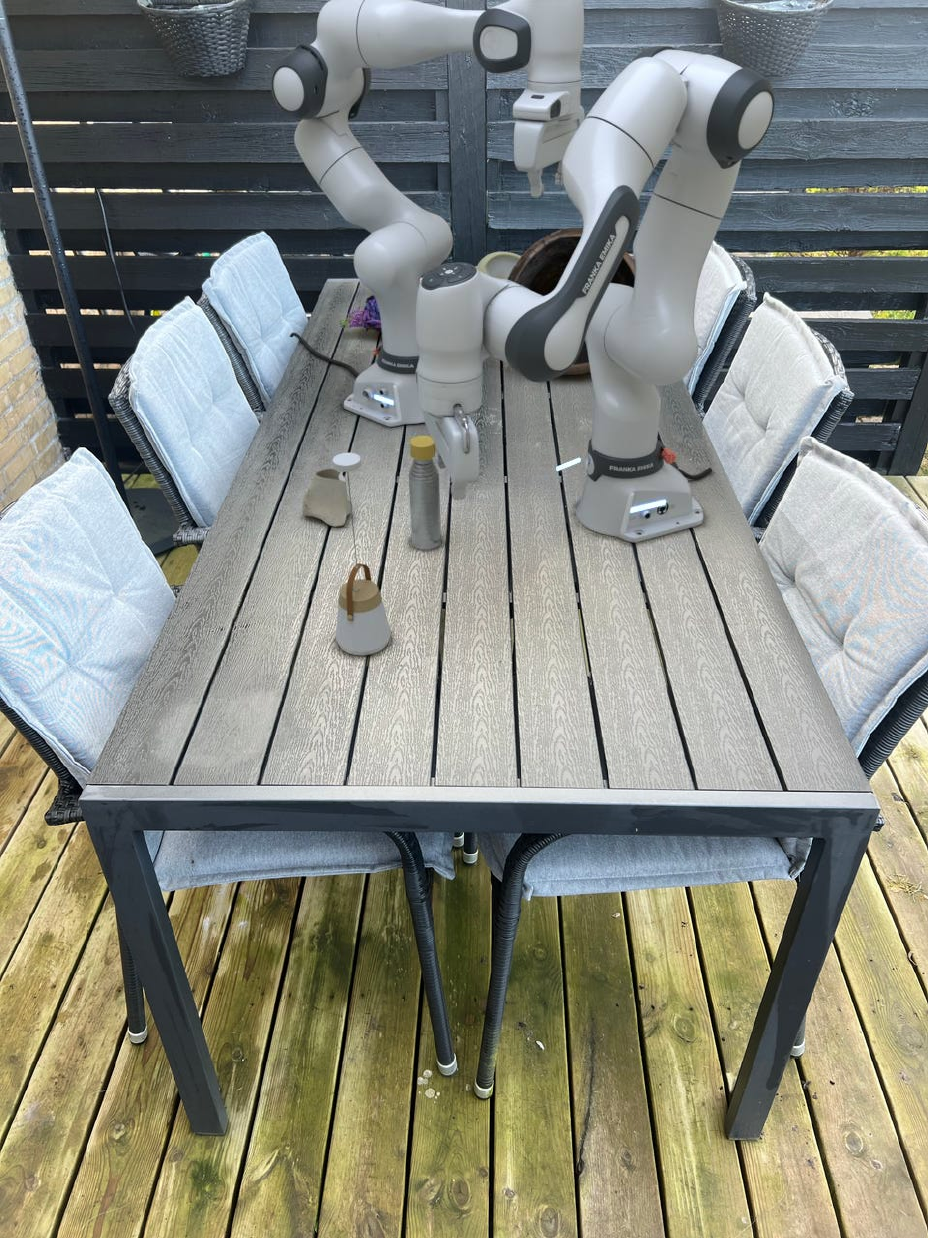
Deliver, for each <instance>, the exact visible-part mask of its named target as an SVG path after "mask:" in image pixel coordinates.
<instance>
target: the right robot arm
mask: <svg viewBox="0 0 928 1238" xmlns="http://www.w3.org/2000/svg"><path fill="white" fill-rule="evenodd" d="M775 105H776V102H775V95H774V89H773V84H772V83H771V82H770V80H769V79H768V78H766V77H765V76H764V75H763V74H762V73H760V72H758V71H756V70H754V69H753V68H751V67H742V66H741V65H738V64H736V63H734V62H731V61H729V60H726V59H724V58H722V57H719V56H716V55H712V54H702V53H698V52H693V51H688V50H681V49H680V50H679V49H676V48H675V47H673V46H668V45H667V46H666V45H657V46H650V47H647V48H645V49H644V50H642V51H641V52H639V53H638V54H637V55H636V56H635V57H634V58H633V59H632V61H631V62H629V64H628V65H627V66H626V67H625V68H624V69H623V70H622V71H621V72H620V73H619V74H618V75H617V76H616V77H615V78H614V80H613V81H612V82H611V83H610V84H609V85H608V86H607V88H606V89H605V90H604V92H603V93H602V94H601V95H600V97H599V98H598V99H597V101H596V102H595V103H594V105H592V108H591V109H590V110H589V112H588V113H587V115H586V116H585V119H584V121H583V122H582V124H581V125H580V127H579V128H578V130H577V131H576V133H575V134H574V136H573V138H572V139H571V141H570V143H569V145H568V147H567V150H566V152H565V155H564V157H563V160H562V179H563V184H564V185H563V187H564V190H565V193H566V195H567V197H568V198H569V200H570V201H571V203H572V204H573V205H574V207H575V208H576V209H577V211H578V213H580V215H581V217H582V223H583V224H582V225H583V227H582V228H583V233H582V236H581V239H580V241H579V243H578V245H577V247H576V249H575V251H574V253H573V255H572V257H571V259H570V261H569V263H568V265H567V267H566V269H565V271H564V273H563V275H562V277H561V279H560V281H559V283H558V285H557V286H556V288H555V289H554V290H553V291H552V292H551V293H550V294H548V295H546V296H542V295H540V294H538V293H535V292H533V291H531V290H529V289H528V288H526V287H524V286H522V285H519V284H517V283H515V282H512V281H510V280H506V279H501V278H494V277H491V276H489V275H487V274H484V273H482V272H481V271H479V270H478V269H477V268H476V266H475V265H473V264H471V263H468V262H459V261H458V262H457V261H456V262H447V263H441V264H440V265H439V266H436V267H434V268H433V269H431V270H430V271H428V272H427V273H426V274H424V275H422V277H421V279H420V285H419V288H418V293H417V301H416V341H417V344H418V347H419V361H418V365H417V369H416V382H417V388H418V405H419V406H420V408H422V409H423V416H424V421H425V422H424V423H425V426H426V429H427V430H428V433H429V435H430V437H432V439H433V441H434V443H435V453H436V454H435V455H436V464H437V466H438V468H439V469H440V470H444V469H446V471H447V473H448V475H449V477H450V479H451V482H452V483H451V484H450V494H451V497H452V499H453V500H454V501H461V500H465V499H466V492H467V490H466V489H467V486H468V484H473V483H477V482H478V481H479V478H480V475H481V471H480V468H481V467H480V443H479V441H480V440H479V434H478V430H477V428H476V425H475V424H474V422H473V420H472V417H473V415H474V412H475V411H477V410H479V409H480V408H481V407H482V405H483V398H484V397H483V396H484V395H483V389H484V388H483V387H484V386H483V385H484V380H483V379H484V361H485V360H486V359H487V358H492V357H494V358H496V359H497V360H500V361H501V362H503V363H505V364H507V365H509V366H510V367H511V368H512V369H513V370H515V371H516V372H517V373H518V374H520V375H521V376H523V377H524V378H525V379H527V380H529V381H530V382H534V383H546V382H550V381H552V380H556V378H559V377H561V376H562V375H563V373H565V372H566V371H567V370H568V369H570V367H571V366H572V365H573V364H574V363H575V361H576V360H577V358H578V356H579V354H580V352H581V349H582V346H583V343H584V340H585V342H586V346H587V352H588V358H589V365H590V372H589V373H590V378H591V387H592V396H593V409H592V424H591V437H590V438H589V440H588V446H587V454H586V459H585V465H586V466H585V469H586V470H585V471H586V478H585V483H584V487H583V491H582V494H581V497H580V500H579V503H578V505H577V507H576V509H575V515H576V518H577V520H578V521H579V522H580V524H582V526H584V527H585V528H587V529H589V530H591V531H593V532H596V533H600V534H602V535H606V536H611V537H615V538H616V537H617V538H619V539H622V540H624V541H626V542H629V543H633V544H635V543H640V542H645V541H647V540H651V539H655V538H659V537H661V536H665V535H669V534H672V533H676V532H679V531H683V530H686V529H691V528H694V527H697V526H701V525H702V524H703V522H704V510H703V508H702V507H701V505H700V504H699V502H698V501H697V500H696V498H695V497H693V492H692V487H691V485H690V483H689V481H688V480H694V481H695V480H700V479H702V478H704V477H706V475H708V474H709V473H712V472H713V468H712V467H708V468H706V469H705V470H703V471H701V472H700V473H698V474H689V473H688V472H686V471H684V470H683V469H681V468H679V465H678V463H677V462H676V459H677V454H676V453H675V452H673V450H672V449H671V448H666V445H665V444H664V443H663V442H662V441H660V440H658V435H659V428H660V420H661V412H662V401H661V396H660V394H659V391H658V389H657V386H658V387H669V386H672V385H675V384H677V383H679V382H680V381H681V380H683V379H684V378H686V376H687V375H689V373H690V372H691V370H692V369H693V367H694V366H695V363H696V361H697V358H698V354H699V340H698V336H697V333H696V328H695V309H696V308H695V307H696V299H697V291H698V287H699V282H700V277H701V274H702V271H703V267H704V265H705V263H706V259H707V257H708V255H709V252H710V250H711V247H712V245H713V242H714V240H715V237H716V235H717V232H718V230H719V228H720V226H721V223H722V221H723V219H724V216H725V215H726V212H727V210H728V207H729V204H730V201H731V198H732V195H733V192H734V189H735V186H736V183H737V179H738V176H739V172H740V168H741V164H742V161H743V159H744V158H746V157H747V156H749V155H750V154H751V153H752V152H753V151H754V150H755V149H756V148H757V147H758V146H759V145H760V143H762V141H763V140H764V138H765V136H766V135H767V133H768V131H769V129H770V126H771V123H772V120H773V117H774V114H775ZM670 144H672V145H673V147H672V151H671V153H670V155H669V156H668V159H667V160H666V162H665V164H664V166H663V168H662V171H661V172H660V174H659V177H658V179H657V181H656V184H655V186H654V189H653V191H652V194H651V196H650V198H649V201H648V203H647V206H646V208H645V212H644V214H643V217H642V219H641V222H640V223H639V221H640V216H641V203H640V198H641V194H642V191H643V189H644V187H645V186H646V185H645V184H646V183H647V181H648V179H649V178H650V176H651V175H652V173H653V172H654V170H655V168H656V167H657V165H658V164H659V162H660V161H661V159H662V157H663V155H664V154H665V152H666V150H667V148H668V147H669V145H670ZM638 224H639V227H638ZM637 227H638V229H637ZM636 230H637V232H636ZM635 232H636V233H635ZM634 235H635V237H634ZM633 237H634V239H633ZM632 239H633V240H632ZM632 241H633V242H632ZM631 242H632V255H633V260H634V262H635V267H636V272H635V283H634V288H632V287H630V286H626V285H621V284H615V283H610V282H611V280H612V278H613V276H614V274H615V272H616V270H617V268H618V266H619V264H620V262H621V260H622V258H623V256H624V254H625V252H626V251H627V250H628V248H629V246H630V244H631ZM578 463H581V458H580V457H578V458H575V459H573V460H570V461H568V462H565V463H563V464H561V465H558V466H556V471H557V472H559V471H562V470H563V469H566V468H568V467H571V466H573V465H576V464H578Z"/></svg>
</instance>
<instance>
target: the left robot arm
mask: <svg viewBox="0 0 928 1238" xmlns="http://www.w3.org/2000/svg"><path fill="white" fill-rule="evenodd" d="M584 9H585V8H584V0H508V1H505V2H503V3H501V4H497V5H495V6H492V7H490V8H488V9H459V8H457V9H456V8H450V7H445V6H440V5H435V4H431V3H427V2H421V1H417V0H328V1H327V2H326V3H325V4H324V5H323V6H322V7H321V9H320V11H319V13H318V17H317V20H316V37H315V40H313V42H312V43H308V42H305V41H302V42H301V43H299V44H298V45H297V46H296V47H294V49H292V50H291V51H290V52H288V53H287V54H285V55H284V56H283V57H282V58H281V59H279V60H278V61H277V63H276V64H275V65H274V66H273V69H272V70H271V73H270V74H271V75H270V91H271V95H272V98H273V100H274V102H275V105H276V106H277V108H278V109H279V110H280V111H281V112H282V113H283V114H284V115H286V116H287V117H290V118H292V119H296V120H300V121H299V123H298V124H297V127H296V129H295V131H294V136H293V141H294V146H295V148H296V150H297V152H298V154H299V156H300V158H301V160H302V162H303V163H304V165H305V167H306V169H307V171H308V173H310V175H311V176H312V178H313V179H314V181H315V182H316V184H317V186H318V187H319V188H320V189H321V190H322V191H323V193H324V194H325V196H326V197H327V198H328V200H329V201H330V202H331V204H332V205H333V206H334V208H335V209H336V210H337V211H338V213H339V214H340V215H341V217H342V218H343V219H344V220H345V221H347V223H350V224H352V225H355V226H358V227H360V228H362V229H364V230H366V231H367V232H369V233H370V234H369V235H368V236H367V237H366V238H364V240H362V241H361V243H360V244H358V246H357V247H356V249H355V251H354V254H353V267H354V271H355V274H356V277H357V278H358V280H359V281H360V282H361V284H362V285H364V286H365V287H366V288H367V289H368V290H369V291H371V293H372V295H373V296H374V297H375V299H376V301H377V304H378V308H379V312H380V317H381V328H382V329H381V330H382V333H381V339H382V344H380V345H378V347H377V348H375V349H374V350H372V351H371V352H372V353H373V354H372V357H375V356H377V359H376V361H375V362H374V363H372V364H371V365H370V366H369V367H367V368H366V369H365V370H362V372H361V373H360V374H359V373H358V372H357V371H356V369H355V368H354V367H353V366H352V365H350V364H347V363H345V362H343V361H339V360H336V359H333V358H331V357H329V356H326V355H324V354H322V353H320V352H318V351H317V350H315V349H314V348H312V347H311V346H310V345H309V343H308V342H307V341H306V340H305V339H304V338H303V337H301V335H300V334H298V333H297V332H291V333H290V335H289V338H293V337H295V338H297V339H298V340H299V341H300V342H301V343H302V344H303V345H304V346H305V347H306V349H307V351H309V352H311V354H313V355H315V356H316V357H318V358H320V359H322V360H324V361H327V362H329V363H332V364H334V365H338V366H341V367H344V368H346V369H348V370H349V371H350V372H351V373H352V374H353V376H354V377H356V379H355V380H354V383H353V384H354V385H353V392H352V393H350V394H349V395H348V396H347V397H346V398H345V400H344V401H343V409H345V410H347V411H349V412H352V413H353V414H356V415H358V416H361V417H363V418H366V419H369V420H371V421H373V422H375V423H378V424H381V425H384V426H386V427H389V428H393V427H398V426H403V425H415V424H423V423H425V421H424V416H423V409H422V408H420V406H419V405H418V388H417V382H416V369H417V365H418V361H419V347H418V344H417V341H416V301H417V293H418V288H419V285H420V282H421V280H422V277H423V276H424V275H425V274H426V273H427V272H428V271H430V270H431V269H433V268H434V267H436V266H439V265H442V264H443V263H444V262H445V260H446V259H447V258H448V257H449V255H451V252H452V249H453V244H454V238H453V232H452V230H451V227H450V226H449V224H448V223H447V221H446V220H445V219H444V218H443V217H442V216H440V215H439V214H436V213H432V212H430V211H428V210H425V209H424V208H422V207H420V205H418V204H416V203H415V202H413V200H412V199H410V198H409V197H407V196H406V195H405V194H403V192H401V191H400V189H398V188H397V187H395V185H393V183H391V182H390V181H389V179H388V178H387V177H386V176H385V174H384V173H383V172H382V171H381V169H380V167H378V165H377V164H376V163H375V161H373V159H372V158H371V156H370V155H369V153H368V152H367V151H366V150H365V148H364V147H363V146H362V144H360V142H359V141H358V139H357V138H356V137H355V135H354V133H353V132H352V131H351V129H350V126H349V120H352V119H354V118H357V116H358V115H359V112H360V110H361V106H362V104H363V103H364V100H365V99H366V98H367V97H368V94H369V91H370V88H371V85H372V70H373V69H374V70H393V69H401V68H405V67H410V66H414V65H418V64H420V63H423V62H427V61H430V60H432V59H436V58H439V57H442V56H446V55H450V54H456V53H474V55H475V58H476V60H477V62H478V64H479V65H480V66H481V68H483V69H484V70H485V71H487V72H489V73H491V74H494V75H495V74H496V75H508V74H512V73H517V72H521V71H524V72H525V74H526V87H525V88H524V90H523V91H522V93H521V95H520V96H519V97H518V98H517V100H515V102H514V103H513V105H512V117H513V118H514V119H516V121H515V123H514V127H513V128H514V129H513V162H514V165H515V168H516V170H517V171H519V172H526V173H527V175H526V176H527V178H528V181H529V185H530V196H531V197H534V198H539V197H542V196H543V195H544V193H545V191H544V190H545V184H543V183H542V176H543V169H546V168H547V167H550V166H552V165H554V164H556V163H558V164H557V165H558V166H557V170H556V173H555V174H554V183H555V185H557V186H564V184H563V179H562V160H563V157H564V155H565V152H566V150H567V147H568V145H569V143H570V141H571V139H572V138H573V136H574V134H575V133H576V131H577V130H578V128H579V127H580V125H581V124H582V122H583V121H584V119H585V118H586V116H585V109H584V107H583V106H582V105H581V101H582V100H581V92H582V71H581V57H582V54H583V51H584V42H585V40H584V38H585V10H584Z"/></svg>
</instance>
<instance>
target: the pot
mask: <svg viewBox="0 0 928 1238" xmlns="http://www.w3.org/2000/svg"><path fill="white" fill-rule="evenodd" d="M582 233H583V227H568V228H565V229H559V230H557V231H555V232H552V233H550V234H549V235H546V236H544V237H543V238H540V239H539V240H537V241H536V242H534V243H533V244H532V245H531V246H530V247H529V248H528V249H526V251H525V252H524V253H523V254H522V255H521V258H520V259H519V260H518V262H517V263H516V265H515V266H514V267H513V269H512V271H511V273H510V275H509V277H508V279H507V280H510V281H512V282H515V283H517V284H519V285H522V286H524V287H526V288H528V289H529V290H531V291H533V292H535V293H538V294H540V295H542V296H546V295H548V294H550V293H551V292H552V291H553V290H554V289H555V288H556V286H557V285H558V283H559V281H560V279H561V277H562V275H563V273H564V271H565V269H566V267H567V265H568V263H569V261H570V259H571V257H572V255H573V253H574V251H575V249H576V247H577V245H578V243H579V241H580V239H581V236H582ZM635 272H636V267H635V259H634V258H632V256H631V255H630V254H629V252H628V251H627V250H626V252H625V254H624V256H623V258H622V260H621V262H620V264H619V266H618V268H617V270H616V272H615V274H614V276H613V278H612V280H611V282H610V283H615V284H621V285H626V286H630V287H632V288H634V283H635ZM589 373H591V372H590V365H589V358H588V352H587V346H586V342H585V340H584V343H583V346H582V349H581V352H580V354H579V356H578V358H577V360H576V361H575V363H574V364H573V365H572V366H571V367H570V369H568V370H567V371H566V372H565V373H563V374H562V375H564V376H575V375H576V376H577V375H583V374H584V375H585V374H589Z"/></svg>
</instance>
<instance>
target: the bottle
mask: <svg viewBox="0 0 928 1238" xmlns="http://www.w3.org/2000/svg"><path fill="white" fill-rule="evenodd" d="M408 492H409V509H410V511H409V512H410V531H411V544H412V546H413V547H414V548H416V549H418V550H422V551H428V550H429V551H430V550H433V549H436V548H438V547H439V546H440V545H441V544H442V531H441V529H442V527H441V498H440V497H441V496H440V495H441V494H440V492H441V491H440V473H439V469H438V467H437V465H436V463H435V462H434V459H433V458H432V459H429V460H416V459H414V458H413V461H412V463H411V466H410V469H409V470H408Z"/></svg>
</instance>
